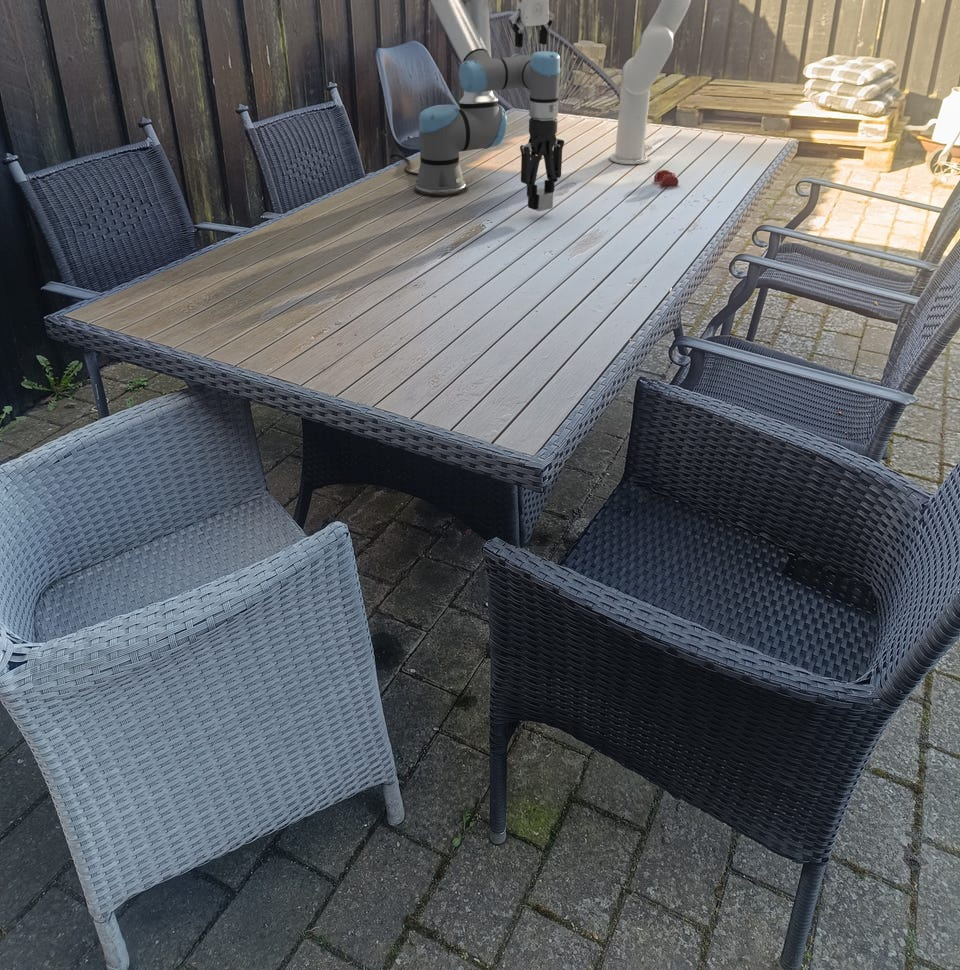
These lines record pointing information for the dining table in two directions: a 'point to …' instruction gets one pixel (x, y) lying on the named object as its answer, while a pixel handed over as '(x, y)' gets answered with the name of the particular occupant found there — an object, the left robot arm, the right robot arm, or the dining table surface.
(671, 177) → the red lumpy rounded piece
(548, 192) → the grey square block
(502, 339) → the dining table surface
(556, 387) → the dining table surface
